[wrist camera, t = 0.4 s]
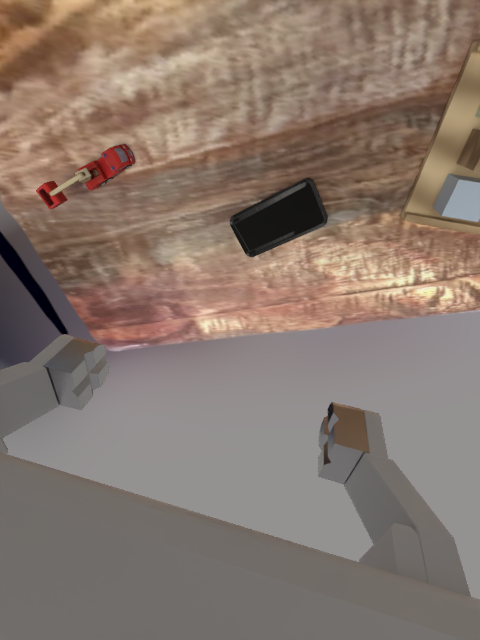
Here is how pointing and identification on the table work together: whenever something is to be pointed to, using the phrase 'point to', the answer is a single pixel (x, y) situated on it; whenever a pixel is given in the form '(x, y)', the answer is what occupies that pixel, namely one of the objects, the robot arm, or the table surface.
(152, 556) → the robot arm
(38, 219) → the table surface
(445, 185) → the blue-grey cube
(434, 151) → the tan tray
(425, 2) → the table surface
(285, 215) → the phone
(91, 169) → the toy fire truck
